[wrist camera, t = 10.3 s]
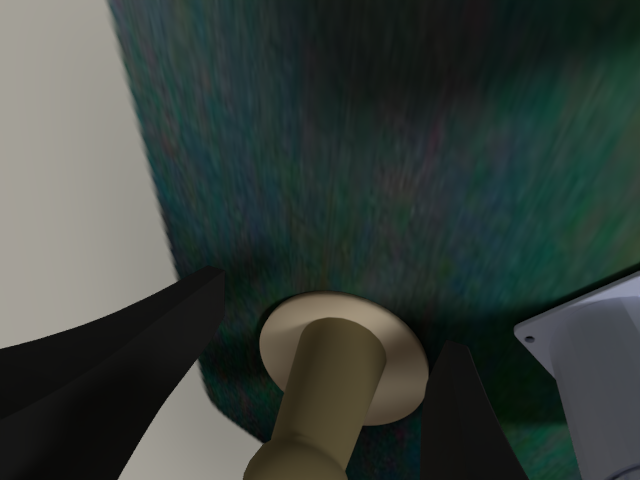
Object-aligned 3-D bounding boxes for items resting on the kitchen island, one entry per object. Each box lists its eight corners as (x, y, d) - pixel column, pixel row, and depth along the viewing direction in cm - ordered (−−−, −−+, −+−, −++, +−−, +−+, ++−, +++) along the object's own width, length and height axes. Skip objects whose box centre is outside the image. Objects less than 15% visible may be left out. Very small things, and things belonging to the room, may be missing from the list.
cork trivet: (467, 385, 26) (467, 395, 25) (341, 432, 32) (339, 441, 32) (342, 259, 24) (338, 266, 23) (234, 336, 30) (229, 343, 30)
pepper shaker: (373, 314, 24) (323, 499, 15) (396, 384, 26) (364, 580, 17) (287, 319, 26) (199, 482, 17) (315, 383, 29) (250, 555, 20)
